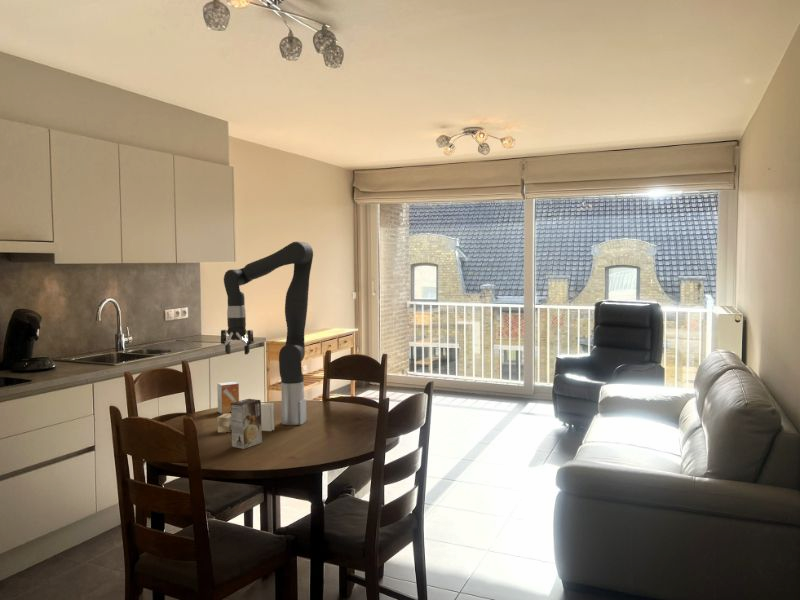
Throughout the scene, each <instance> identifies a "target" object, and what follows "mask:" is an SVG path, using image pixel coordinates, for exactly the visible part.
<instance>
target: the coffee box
mask: <svg viewBox="0 0 800 600" xmlns="http://www.w3.org/2000/svg"><path fill="white" fill-rule="evenodd" d="M261 403H262V401H261V399H255V398H253V399H252V398H246V399H243V400H242V399H241V400H239V401H237V402H233V403H231V413H230V414H231V427H232V431H231V446H232V448H238V449H241V450H245V449H249V448H251V447H253V446H256V445H259V444H262V443H263V434H262V433H263V431H262V427H261Z"/></svg>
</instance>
